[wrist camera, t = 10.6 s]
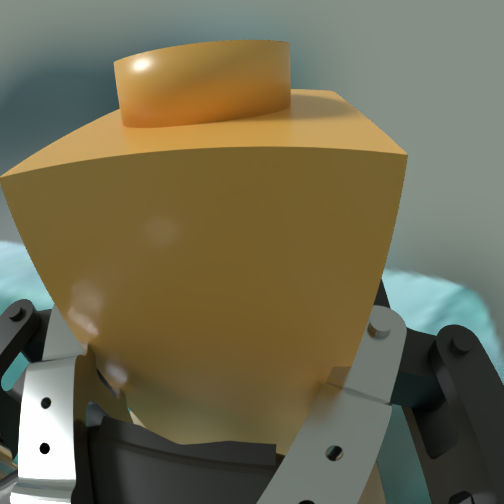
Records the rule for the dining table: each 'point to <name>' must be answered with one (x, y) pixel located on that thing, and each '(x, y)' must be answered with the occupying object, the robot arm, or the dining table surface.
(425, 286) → the dining table surface
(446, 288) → the dining table surface
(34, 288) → the dining table surface
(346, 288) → the tall orange toy brick
